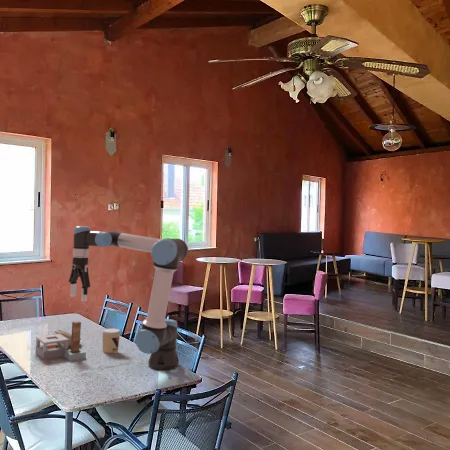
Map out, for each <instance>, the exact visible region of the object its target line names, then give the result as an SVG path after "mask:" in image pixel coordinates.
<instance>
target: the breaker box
mask: <svg viewBox="0 0 450 450" xmlns="http://www.w3.org/2000/svg"><path fill="white" fill-rule="evenodd" d="M60 342H64V345H63V344H61V343H60ZM68 342H69V339H67V338H66V337H64V336H62V335H61V334H56V333H55V334H50V335H49V334H48V335H41V336H40V335H39V336H36V340H35V355H36V356H38V357H39V358H40V359H42V360H43V361H44V360H45V361H47V360H52V359H57V358H65V357H64V351H65V350H69V346H68ZM49 345H56V348H51V349H48V346H49Z"/></svg>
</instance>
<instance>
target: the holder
mask: <svg viewBox="0 0 450 450" xmlns="http://www.w3.org/2000/svg"><path fill="white" fill-rule="evenodd" d="M86 354H87V352H86V351H85V350H83V349H81V348H80V350H79V352H78V353H71V349H68V350H65V351H64V357H63V358H65V359H66V360H68V361H70V362H71V361H78V360H83V359H87V358H86Z"/></svg>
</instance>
